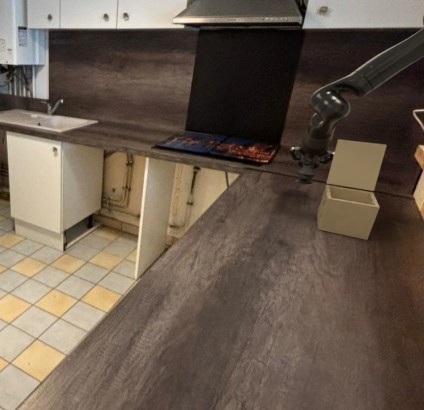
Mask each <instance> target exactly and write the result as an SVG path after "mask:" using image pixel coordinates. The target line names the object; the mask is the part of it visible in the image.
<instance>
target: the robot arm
mask: <svg viewBox="0 0 424 410" xmlns="http://www.w3.org/2000/svg"><path fill="white" fill-rule="evenodd" d="M422 24H423V26H424V15H423V16H422ZM422 58H424V27H423V28H421V29H420V30H418V31H417V32H416V33H414V34H412V35H411V36H409V37H407V38H406V39H404V40H403V41H401V42H399V43H396V44H395V45H393V46H391V47H389V48H386V49H385V50H384V51H382V52H380V53H379V54H377V55H375V56H373V57H372V58H370V59H369V60H368V61H366V62H365V63H363V64H362V65H360V66H359V67H358V68H356V69H355V70H354V71H352V72H351V73H350V74H348V75H346V76H343V77H342V78H340V79H338V80H336V81H334V82H331V83H328V84H327V85H325V86H322V87H320V88H318V89H317V90H316V91H314V92H313V94H311V96H310V97H309V99H308V103H307V105H308V106H309V109H311V110H312V111H313V112H314V114H313V115H312V116H311V118H310V119H309V122H308V125H307V128H306V130H305V132H304V134H303V137H302V138H303V139H302V142H301V144H299V146H296V145H291V146H290V150H289V153H290V156H291V157H292V159H293V161H298V163H297V166H299V168H302V167H303V165H304V161H305V160H306V158H307V157H308V158H315V160H314V162H315V163H314V164H313V168H312V170H316V169H318V168H319V166H320V164H322V165H327V164H328V163H330V162H332V160H333V156H334V153H335V149H332V150H329V146H330V144H331V143H332V139H333V137H334V133H335V130H336V127H337V126H338V125H339V123H341V122H342V121H343V120H344V119H345V118H346V117H347V116H348V115H349V114H350V112H351V104H350V102H349V101H348V100H347V98H344V96H342V94H350V95H353V96H355V97H358V98H362V97H365V96H367V95H368V94H369V93H372V91H374V90H376V89H377V88H379V87H380V86H382V85H383V84H384V83H386V82H387V81H388V80H389V79H391V78H393V77H394V76H395V75H398V74H399V73H400V72H401V71H403V70H405V69H406V68H408V67H409V66H411V65H412V64H414V63H416V62H417V61H419V60H421V59H422ZM299 153H300V154H299Z"/></svg>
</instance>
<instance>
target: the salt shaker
mask: <svg viewBox="0 0 424 410" xmlns="http://www.w3.org/2000/svg"><path fill="white" fill-rule="evenodd" d="M314 163H315V158H308V157H307V158H306V160H304V162H303V165H302V167H301V168H300V169H297V170H296V173H297V177H298V178H296V179H295V182H296V183H299V184H301V185H312V184H313V181H311V180H312V179H314V177H315V176H316V174H317V173H316V172H315V171H313V170H314V169H313V166H314Z"/></svg>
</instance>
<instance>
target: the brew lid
mask: <svg viewBox="0 0 424 410" xmlns="http://www.w3.org/2000/svg"><path fill="white" fill-rule="evenodd" d="M334 150H335V153H334V156H333V160H331V164H330V168H329V173H328V176H327V180H326V185H332V186H338V187H339V186H345V187H351V188H357V189H364V191H369V192H374V191H375V190H376V185H377V181H378V179H379V174H380V171H381V167H382V164H383V161H384V156H385V154H386V153H385V152H386V150H387V144H385V143H384V144H382V143H374V142H365V141H356V140H346V139H339V138H338V139H337V142H336V146H335V149H334Z"/></svg>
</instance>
